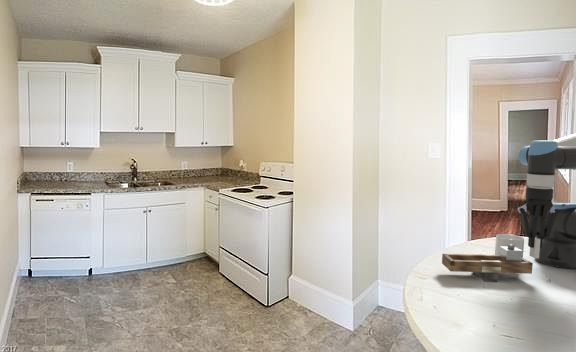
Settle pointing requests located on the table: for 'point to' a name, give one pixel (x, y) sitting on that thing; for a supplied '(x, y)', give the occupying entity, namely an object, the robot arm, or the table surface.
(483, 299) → the table surface
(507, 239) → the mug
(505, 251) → the white block with knob
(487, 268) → the beam
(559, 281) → the table surface
